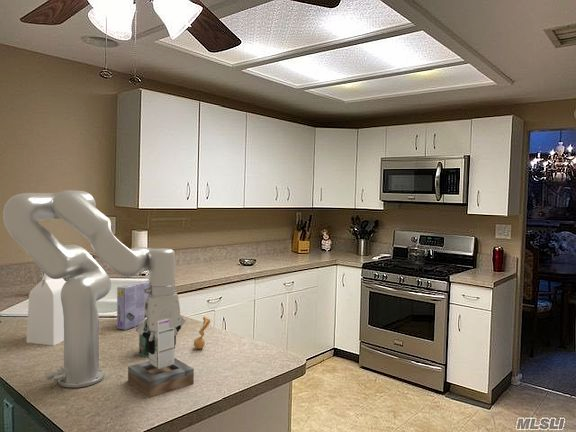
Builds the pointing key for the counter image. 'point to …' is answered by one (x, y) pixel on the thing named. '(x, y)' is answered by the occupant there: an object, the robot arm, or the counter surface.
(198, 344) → the figurine
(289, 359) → the counter surface
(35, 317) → the milk
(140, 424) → the counter surface
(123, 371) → the counter surface
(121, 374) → the counter surface
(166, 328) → the syrup box
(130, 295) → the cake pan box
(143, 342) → the canned tomato
